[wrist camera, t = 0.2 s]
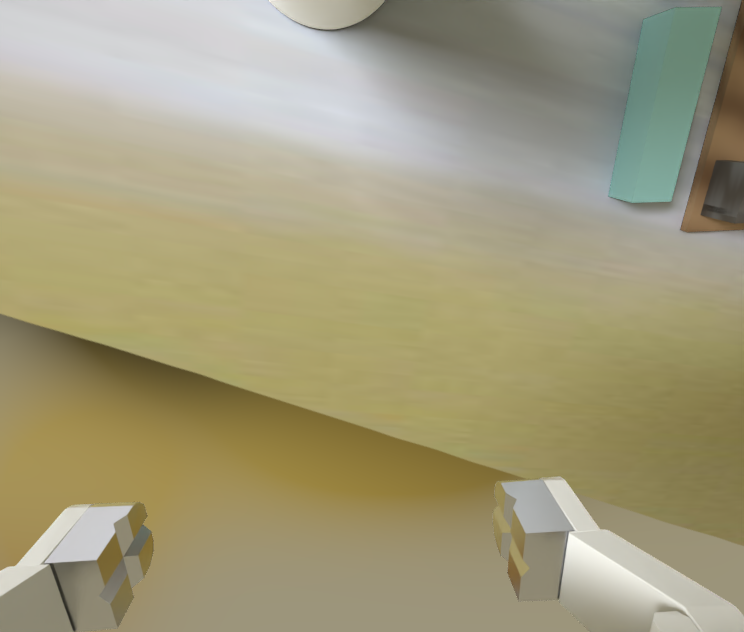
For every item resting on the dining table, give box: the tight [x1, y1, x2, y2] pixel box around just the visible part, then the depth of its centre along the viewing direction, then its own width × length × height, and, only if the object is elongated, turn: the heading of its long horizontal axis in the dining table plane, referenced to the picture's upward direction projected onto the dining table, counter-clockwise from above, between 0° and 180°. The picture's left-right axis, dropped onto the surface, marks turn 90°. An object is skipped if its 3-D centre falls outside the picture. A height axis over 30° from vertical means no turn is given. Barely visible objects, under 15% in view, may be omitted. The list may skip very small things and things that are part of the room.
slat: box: [608, 7, 722, 203], centre depth 41 cm, size 16×4×4 cm, turn 1°
